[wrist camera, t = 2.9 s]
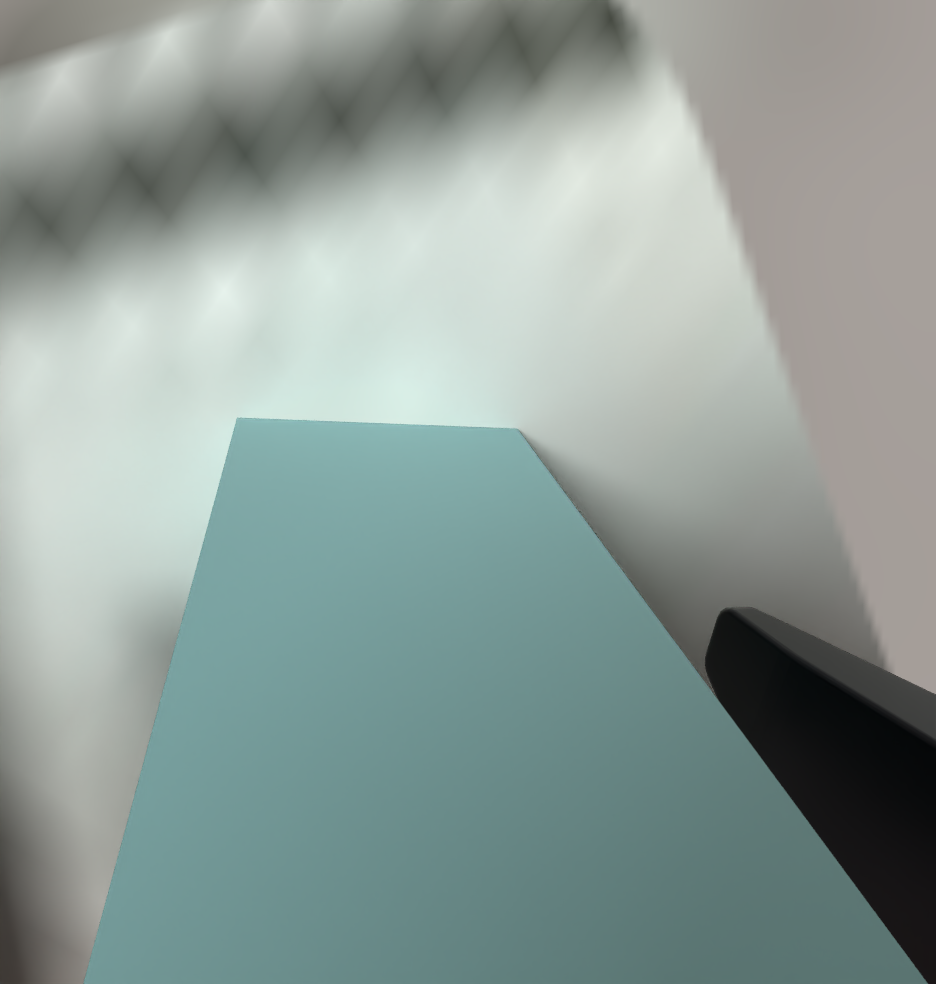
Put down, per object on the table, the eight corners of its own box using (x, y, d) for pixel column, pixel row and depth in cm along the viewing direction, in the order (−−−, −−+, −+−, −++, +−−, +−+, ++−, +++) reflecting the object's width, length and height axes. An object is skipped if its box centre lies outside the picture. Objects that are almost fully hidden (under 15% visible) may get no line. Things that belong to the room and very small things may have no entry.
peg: (517, 429, 11) (936, 992, 3) (484, 646, 12) (723, 1326, 5) (237, 418, 10) (36, 1152, 3) (243, 654, 11) (130, 1494, 4)
